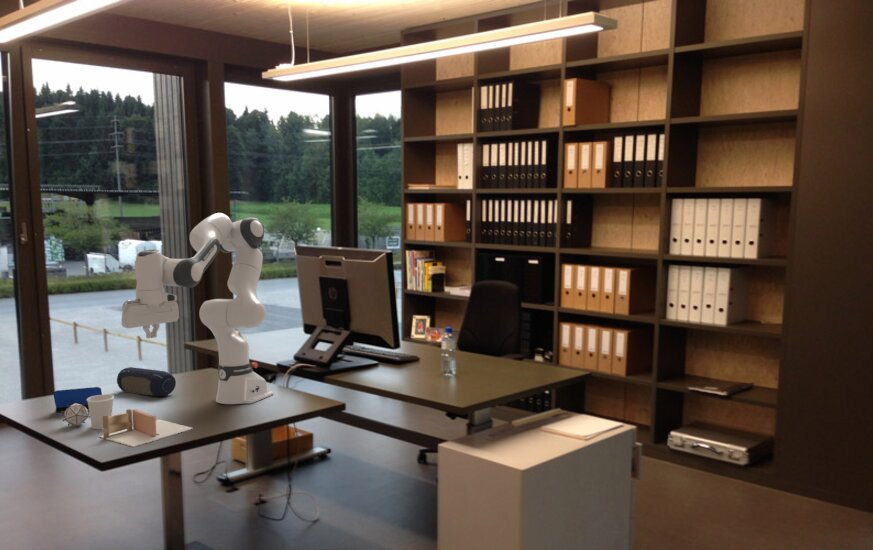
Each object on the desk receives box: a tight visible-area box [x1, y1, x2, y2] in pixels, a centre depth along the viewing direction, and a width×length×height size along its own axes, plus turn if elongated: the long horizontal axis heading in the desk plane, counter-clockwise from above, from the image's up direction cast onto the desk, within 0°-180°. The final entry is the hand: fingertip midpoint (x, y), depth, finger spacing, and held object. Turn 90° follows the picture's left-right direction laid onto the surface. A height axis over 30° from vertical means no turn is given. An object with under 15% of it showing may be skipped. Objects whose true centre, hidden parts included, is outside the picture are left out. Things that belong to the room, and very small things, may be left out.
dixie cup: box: [87, 394, 115, 430], centre depth 241 cm, size 8×8×10 cm
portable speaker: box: [116, 366, 177, 398], centre depth 284 cm, size 25×10×10 cm, turn 66°
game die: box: [61, 401, 91, 429], centre depth 242 cm, size 9×8×10 cm
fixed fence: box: [102, 408, 133, 440], centre depth 232 cm, size 10×2×7 cm, turn 147°
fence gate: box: [132, 408, 157, 437], centre depth 234 cm, size 14×2×6 cm, turn 49°
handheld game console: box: [52, 386, 103, 413], centre depth 264 cm, size 16×13×9 cm
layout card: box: [99, 419, 194, 448], centre depth 235 cm, size 22×18×1 cm
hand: (151, 337), depth 246 cm, fingers closed
